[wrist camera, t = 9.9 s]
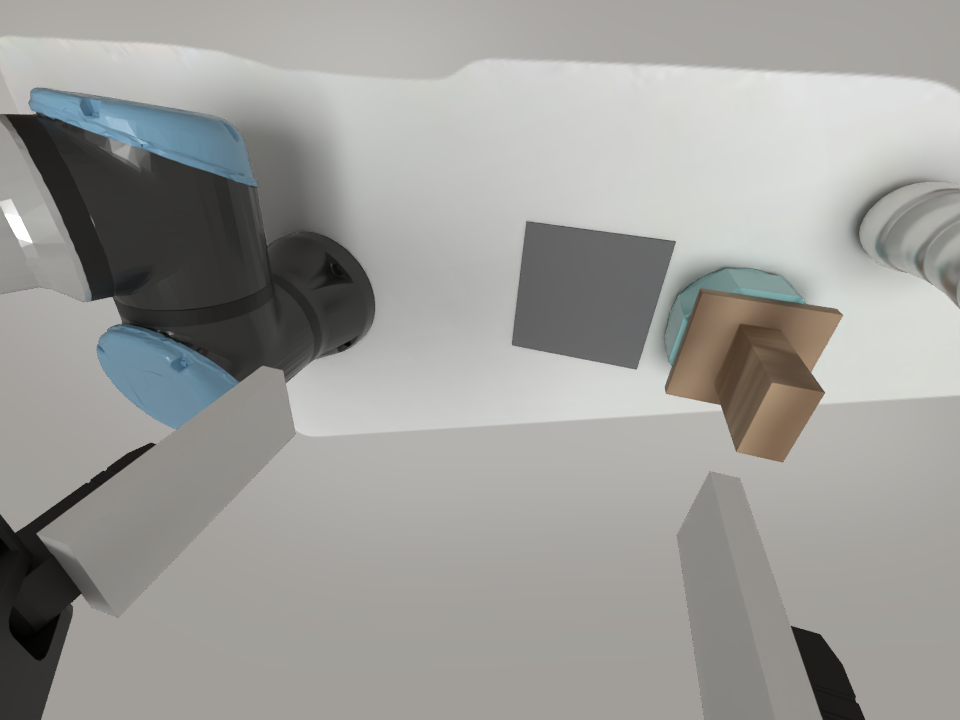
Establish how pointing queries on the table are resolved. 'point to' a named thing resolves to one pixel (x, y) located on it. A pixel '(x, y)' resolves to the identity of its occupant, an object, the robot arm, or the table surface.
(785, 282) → the bowl
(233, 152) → the robot arm
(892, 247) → the plastic bottle
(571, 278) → the mat
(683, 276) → the table surface
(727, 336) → the cover lid
